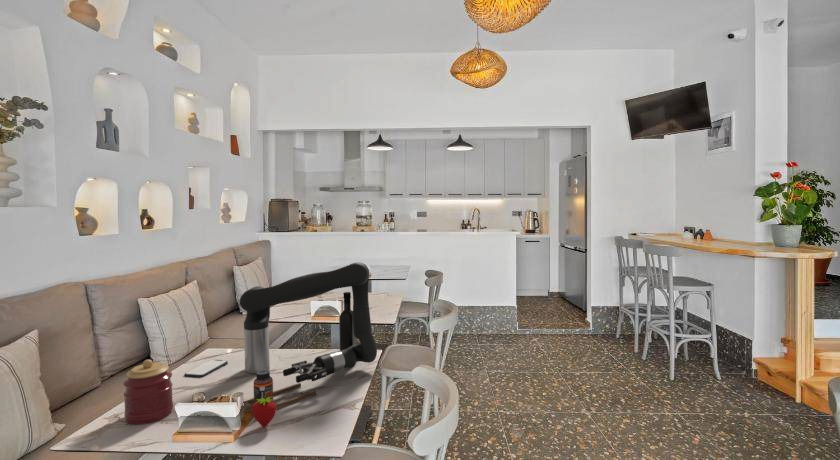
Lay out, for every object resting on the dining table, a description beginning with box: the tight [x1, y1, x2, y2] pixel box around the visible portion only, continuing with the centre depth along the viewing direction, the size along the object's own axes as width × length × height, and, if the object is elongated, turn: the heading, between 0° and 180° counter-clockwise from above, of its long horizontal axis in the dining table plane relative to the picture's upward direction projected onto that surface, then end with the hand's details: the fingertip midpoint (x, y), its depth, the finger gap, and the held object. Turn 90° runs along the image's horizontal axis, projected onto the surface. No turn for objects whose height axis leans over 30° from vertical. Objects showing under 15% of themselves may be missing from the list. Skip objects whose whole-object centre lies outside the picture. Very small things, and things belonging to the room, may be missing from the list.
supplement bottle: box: [253, 369, 274, 404], centre depth 138 cm, size 6×6×11 cm
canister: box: [122, 359, 174, 425], centre depth 133 cm, size 13×13×18 cm
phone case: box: [184, 359, 229, 379], centre depth 172 cm, size 9×2×16 cm
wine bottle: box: [338, 291, 357, 368], centre depth 175 cm, size 6×6×30 cm
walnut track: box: [242, 382, 317, 412], centre depth 143 cm, size 11×21×1 cm, turn 137°
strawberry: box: [250, 395, 278, 428], centre depth 125 cm, size 6×8×10 cm
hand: (289, 376), depth 145 cm, fingers open, 8 cm apart
